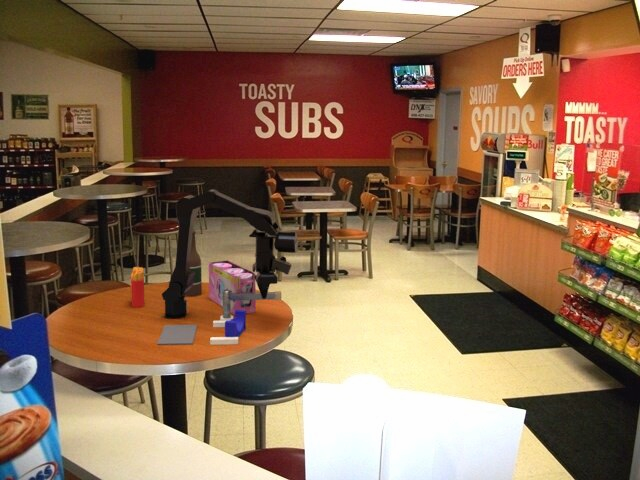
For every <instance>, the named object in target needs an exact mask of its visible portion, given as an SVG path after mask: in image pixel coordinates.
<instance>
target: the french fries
mask: <svg viewBox="0 0 640 480" xmlns="http://www.w3.org/2000/svg"><path fill="white" fill-rule="evenodd" d="M130 285H131V286H130V287H131V288H130V291H131V306H132V308H143V307H145V276H144V267H142V266H141V267H140V266H134V267H133V268H132V271H131V274H130Z"/></svg>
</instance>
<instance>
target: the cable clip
mask: <svg viewBox="0 0 640 480" xmlns="http://www.w3.org/2000/svg"><path fill="white" fill-rule="evenodd" d="M246 324H247V313H246V311H244V310H236V311H235V315H234V318H233V319H231V320H230V321H226V322H225V327H224V337H238V339H239V338H240V336H241V335H242V334H243V333H244V331H245V330H246V328H247V325H246Z"/></svg>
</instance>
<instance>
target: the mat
mask: <svg viewBox="0 0 640 480" xmlns="http://www.w3.org/2000/svg"><path fill="white" fill-rule="evenodd" d="M197 328H198V324H164V326H163V329H162V331H161V334H160V336H159V338H158V341H157V344H156V345H157V346H170V345H171V346H173V345H174V346H177V345H178V346H179V345H183V346H186V345H193V344H194V342H195V336H196V332H197Z"/></svg>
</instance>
